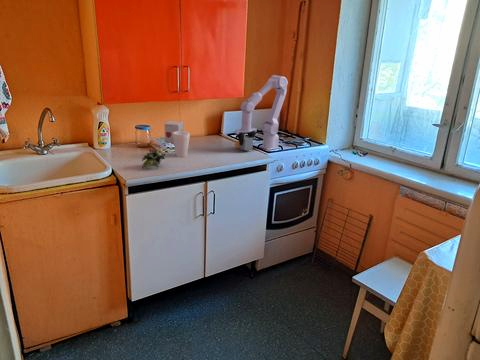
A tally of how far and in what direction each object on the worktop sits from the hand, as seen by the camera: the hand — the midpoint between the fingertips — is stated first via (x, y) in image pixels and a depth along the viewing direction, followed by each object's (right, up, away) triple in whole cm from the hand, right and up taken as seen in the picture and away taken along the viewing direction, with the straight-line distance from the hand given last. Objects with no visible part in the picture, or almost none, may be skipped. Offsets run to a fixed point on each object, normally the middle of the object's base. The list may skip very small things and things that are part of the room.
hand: (245, 144), depth 228 cm
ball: (-4, 0, +5) cm, 6 cm away
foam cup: (-37, -8, -13) cm, 40 cm away
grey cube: (0, -2, 0) cm, 2 cm away
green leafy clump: (-47, -15, -35) cm, 60 cm away
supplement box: (-43, -1, +3) cm, 43 cm away
